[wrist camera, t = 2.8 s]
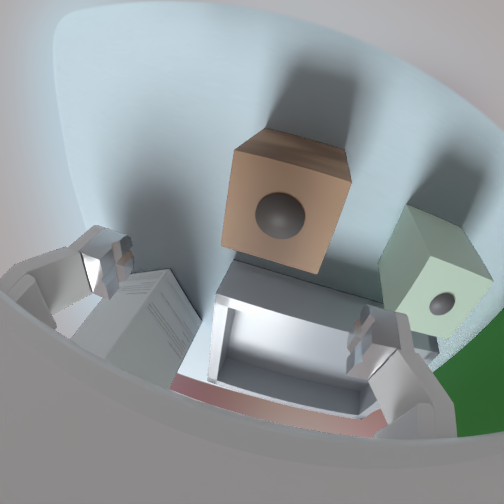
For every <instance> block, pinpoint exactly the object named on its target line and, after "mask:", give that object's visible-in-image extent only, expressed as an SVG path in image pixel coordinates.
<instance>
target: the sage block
mask: <svg viewBox="0 0 504 504" xmlns="http://www.w3.org/2000/svg"><path fill="white" fill-rule="evenodd" d="M378 268H379V274H380V281H381V288H382V295H383V303H384V309H387V310H391V311H396V312H400V313H405V314H407V316H408V319H409V323H410V328H411V331H415V332H419V333H423V334H427V335H431V336H436V337H440V338H444V339H449V338H450V337H451V335H452V334H453V333H454V332H455V331H456V330H457V329H458V327H459V326H460V325H461V324H462V323H463V322H464V320H465V319H466V318H467V317H468V316H469V314H470V313H471V312H472V311H473V309H474V308H475V307H476V305H477V304H478V303H479V302H480V300H481V299H482V298H483V296H484V295H485V293H486V292H487V291H488V289H489V288H490V286H491V285H492V284H493V282H494V281H493V279H492V277H491V275H490V273H489V271H488V270H487V268H486V266H485V264H484V263H483V261H482V259H481V258H480V256H479V254H478V253H477V251H476V249H475V248H474V246H473V245H472V243H471V242H470V240H469V239H468V237H467V235H466V234H465V232H464V231H463V230H462V228H460V227H458V226H456V225H454V224H452V223H450V222H447V221H445V220H443V219H441V218H438V217H436V216H434V215H431V214H429V213H427V212H424V211H422V210H420V209H417V208H415V207H412V206H410V205H407V204H406V205H405V207H404V209H403V212H402V214H401V216H400V218H399V221H398V223H397V225H396V227H395V229H394V231H393V233H392V235H391V238H390V240H389V242H388V244H387V246H386V248H385V250H384V252H383V254H382V256H381V258H380V260H379V261H378Z"/></svg>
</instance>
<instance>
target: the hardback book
mask: <svg viewBox="0 0 504 504" xmlns="http://www.w3.org/2000/svg"><path fill="white" fill-rule="evenodd" d="M433 374H434V376H435V377H436V378H437V380H438V381H439V383H440V384H441V386H442V387H443V388H444V390H445V391H446V393H447V394H448V396H449V397H450V399H451V400H452V402H453V403H454V409H455V418H456V428H457V437H467V436H476V435H483V434H490V433H496V432H502V431H504V308H503V309H502V311H501V312H500V313H499V314H498V315H497V316H496V317H495V318H494V319H493V320H492V321H491V322H490V323H489V324H488V325H487V326H486V327H485V328H484V329H483V330H482V331H481V332H480V333H479V334H478V335H477V336H476V337H475V338H474V339H473V340H471V341H470V342H469V343H468V344H467V345H466V346H465V347H464V348H463V349H461V350H460V351H459V352H458V353H457V354H456V355H454V356H453V357H452V358H451V359H450V360H448V361H447V362H446V363H445V364H443V365H442V366H441V367H440V368H438V369H437V370H436V371H435V372H433Z"/></svg>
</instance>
